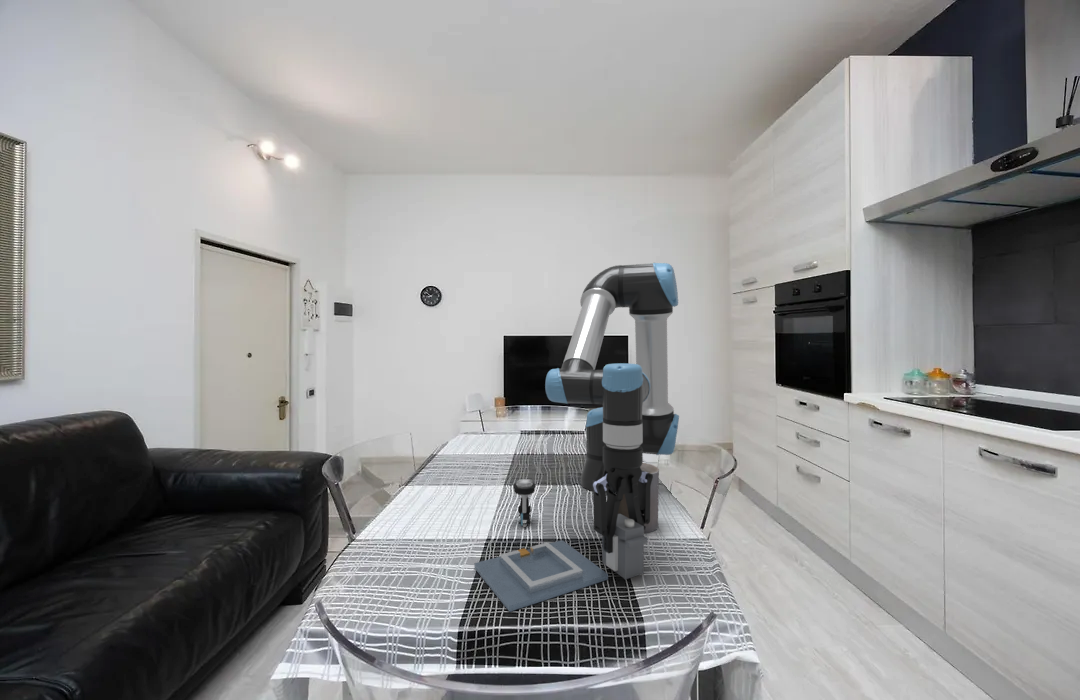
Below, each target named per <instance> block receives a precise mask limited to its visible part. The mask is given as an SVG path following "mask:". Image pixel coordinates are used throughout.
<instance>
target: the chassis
mask: <svg viewBox="0 0 1080 700" xmlns="http://www.w3.org/2000/svg"><path fill="white" fill-rule="evenodd" d="M473 568H474V569H475V571H476V572H477V573H478V574H479V576H480V577H481V578H482V580H483V581H484V582H485V584H486V585H487V586H488V587H489V589H490V590H491V591H492V593H494V595H495V596H496V597H497V599H499V601H500V602H501V603H502V605H503V606H504V607H505V608H506V610H507V611H508V612H509V613H511V612H513V611H517V610H520V609H523V608H526V607H530V606H533V605H535V604H538V603H541V602H544V601H546V600H547V601H548V600H550V599H551V600H552V599H554V598H556V597H559V596H562V595H565V594H568V593H572V592H574V591H578V590H581V589H583V588H587V587H590V586H593V585H596V584H599V583H602V582H605V581H608V580H609V574H608V573H607V572H606V571H604V570H603V569H602V568H601V567H599V566H598V565H596V564H595V563H594V562H592V561H591V560H590V559H589V558H587V556H584V555H583V554H582V553H580V552H579V551H578V550H576V549H575V548H574V547H572V545H570V544H568V543H567V542H565V541H564V540H563V539H562V540H556V541H555V542H550V543H549V542H543V543H540V544H535V545H532V546H530V548H525V547H524V548H520V549H517V550H513V551H509V552H505V553H501V554H499V555H498V557H497V556H496V557H493V558H489V559H486V560H481V561H479V562H475V563H474V567H473Z"/></svg>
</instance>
